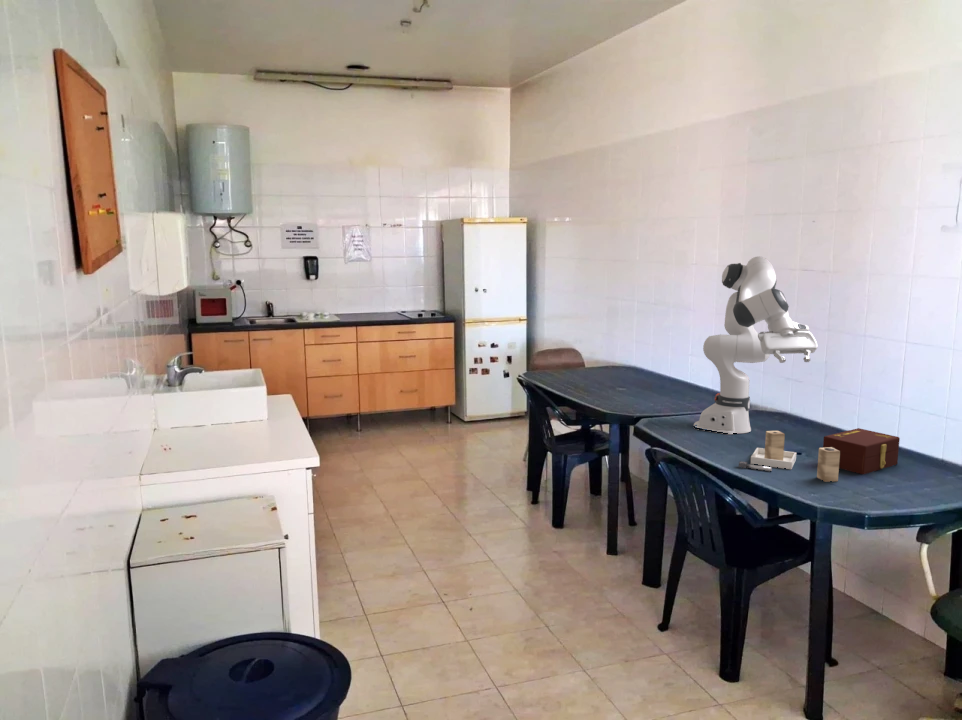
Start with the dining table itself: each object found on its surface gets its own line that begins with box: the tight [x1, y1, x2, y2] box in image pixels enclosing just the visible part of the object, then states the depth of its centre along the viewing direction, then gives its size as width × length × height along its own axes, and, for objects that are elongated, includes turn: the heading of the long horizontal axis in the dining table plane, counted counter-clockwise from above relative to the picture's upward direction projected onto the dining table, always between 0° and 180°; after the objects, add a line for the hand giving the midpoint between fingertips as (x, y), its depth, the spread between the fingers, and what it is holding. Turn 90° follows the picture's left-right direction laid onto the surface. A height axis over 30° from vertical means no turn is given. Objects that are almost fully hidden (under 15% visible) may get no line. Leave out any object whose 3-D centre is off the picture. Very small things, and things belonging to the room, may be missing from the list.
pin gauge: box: [738, 460, 773, 472], centre depth 248 cm, size 10×2×2 cm, turn 61°
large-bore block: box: [816, 447, 840, 483], centre depth 236 cm, size 4×4×10 cm
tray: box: [750, 447, 797, 470], centre depth 256 cm, size 13×13×2 cm
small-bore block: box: [764, 430, 786, 461], centre depth 255 cm, size 4×4×10 cm
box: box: [822, 427, 901, 475], centre depth 252 cm, size 21×16×10 cm
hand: (795, 361), depth 263 cm, fingers open, 8 cm apart
